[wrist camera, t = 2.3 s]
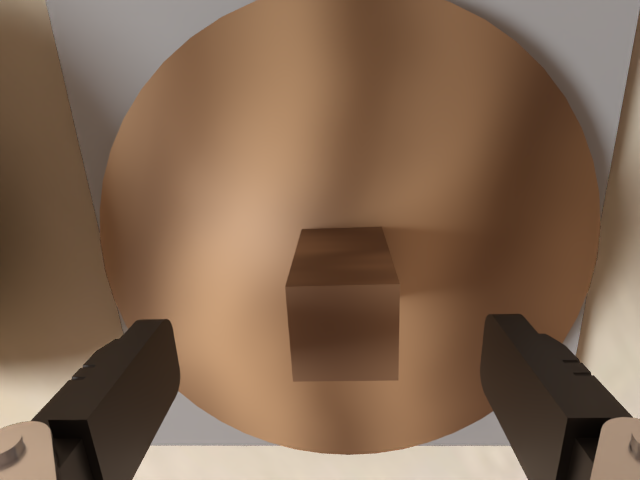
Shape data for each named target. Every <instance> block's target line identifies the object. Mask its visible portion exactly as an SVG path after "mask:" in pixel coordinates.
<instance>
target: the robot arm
mask: <svg viewBox="0 0 640 480" xmlns="http://www.w3.org/2000/svg"><path fill="white" fill-rule="evenodd" d="M480 379H481V384H482V388H483V391H484V394H485V396H486V398H487V400H488V402H489V404H490V406H491V408H492V410H493V412H494V414H495V415H496V417H497V419H498V421H499V423H500V425H501V427H502V429H503V431H504V433H505V435H506V437H507V439H508V441H509V443H510V445H511V447H512V449H513V451H514V453H515V455H516V457H517V459H518V461H519V463H520V465H521V467H522V469H523V470H524V472H525V474H526V476H527V478H528V480H640V419H638V418H633V417H632V416H631V415H630V414H629V413H628V412H627V410H626V409H625V408H624V407H623V406H622V405H621V404H620V403H619V402H618V401H617V400H616V399H615V398H614V397H613V396H612V394H611V393H610V392H609V391H608V390H607V389H606V388H605V387H604V386H603V385H602V384H601V383H600V382H599V381H598V379H597V378H596V377H595V376H591V372H590V371H589V370H588V369H587V368H586V367H585V366H584V365H583V363H580V362H579V359H578V358H577V357H576V356H575V355H574V354H573V353H572V352H571V351H570V350H569V349H568V347H567V346H566V345H564V344H562V343H561V342H559V341H557V340H556V339H554V338H552V337H551V336H549V335H547V334H539V333H538V332H537V331H536V330H535V329H534V328H533V327H532V325H531V324H530V323H529V322H528V321H527V320H526V318H525V317H524V316H523V315H521V314H489V315H487V317H486V319H485V324H484V333H483V343H482V353H481V362H480ZM179 385H180V367H179V361H178V355H177V349H176V344H175V338H174V332H173V327H172V324H171V322H170V321H169V320H168V319H139V320H136V321H135V322H134V323H133V324H132V326H131V327H130V328H129V329H128V330H127V331H126V332H125V333H124V335H123V336H122V337H121V338H120V339H115V340H113V341H112V342H110V343H109V344H107V345H105V346H104V347H102V348H101V349H99V350H97V351H96V352H95V353H94V354H93V355H92V356H91V357H90V358H89V359H88V360H87V362H86V363H85V364H84V365H83V368H80V369H79V370H78V371H77V372H76V373H75V374H74V375H73V376H72V380H69V381H68V382H67V383H66V384H65V385H64V386H63V387H62V388H61V389H60V390H59V391H58V392H57V393H56V395H55V396H54V397H53V398H52V399H51V400H50V401H49V402H48V403H47V404H46V405H45V406H44V407H43V408H42V409H41V411H40V412H39V413H38V414H37V415H36V416H35V417H34V418H33V419H32V420H31V421H26V422H20V423H16V424H12V425H9V426H6V427H3V428H1V429H0V480H132V479H133V477H134V475H135V473H136V471H137V469H138V467H139V466H140V464H141V462H142V460H143V458H144V456H145V454H146V452H147V450H148V449H149V447H150V445H151V443H152V441H153V439H154V437H155V435H156V433H157V432H158V430H159V428H160V426H161V424H162V422H163V420H164V418H165V416H166V415H167V413H168V411H169V409H170V407H171V405H172V403H173V401H174V399H175V398H176V395H177V393H178V390H179Z"/></svg>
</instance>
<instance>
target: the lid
mask: <svg viewBox="0 0 640 480" xmlns="http://www.w3.org/2000/svg"><path fill="white" fill-rule="evenodd" d="M600 227H601V226H600V197H599V189H598V183H597V178H596V173H595V167H594V162H593V159H592V156H591V153H590V150H589V147H588V144H587V141H586V138H585V136H584V133H583V130H582V127H581V126H580V124H579V122H578V120H577V118H576V116H575V114H574V112H573V110H572V109H571V107H570V105H569V103H568V101H567V99H566V97H565V96H564V95H563V93H562V92H561V91H560V89H559V88H558V87H557V85H556V84H555V83H554V81H553V80H552V79H551V77H550V76H549V75H548V73H547V72H546V71H545V69H544V68H543V67H542V66H541V65H540V64H539V63H538V62H537V61H536V60H535V59H534V58H533V57H532V56H531V55H530V54H529V53H528V52H527V51H526V50H525V49H524V48H523V47H521V46H520V45H519V44H518V43H517V42H516V41H515V40H513V39H512V38H511V37H509V36H508V35H506V34H505V33H504V32H502V31H501V30H499V29H498V28H496V27H495V26H494V25H492V24H491V23H489V22H488V21H487V20H485V19H483V18H481V17H479V16H477V15H475V14H473V13H471V12H469V11H467V10H465V9H463V8H461V7H459V6H457V5H455V4H453V3H451V2H448V1H445V0H256V1H254V2H252V3H250V4H248V5H246V6H244V7H241V8H239V9H237V10H235V11H233V12H231V13H229V14H227V15H224V16H222V17H221V18H219V19H218V20H216V21H215V22H213V23H212V24H210V25H209V26H207V27H206V28H204V29H203V30H201V31H200V32H198V33H197V34H195V35H194V36H192V37H191V38H190V39H188V40H187V41H186V42H185V43H184V44H183V45H182V46H181V47H180V48H179V49H177V50H176V51H175V52H174V53H173V54H172V55H171V56H170V57H169V58H167V59H166V60H165V61H164V62H163V63H162V65H161V66H160V67H159V68H158V69H157V71H156V72H155V73H154V74H153V76H152V77H151V78H150V79H149V80H148V82H147V83H146V84H145V85H144V87H143V88H142V89H141V90H140V92H139V94H138V96H137V97H136V99H135V101H134V102H133V104H132V106H131V107H130V109H129V111H128V112H127V114H126V116H125V117H124V119H123V121H122V124H121V126H120V129H119V131H118V133H117V136H116V138H115V141H114V143H113V145H112V148H111V151H110V155H109V159H108V163H107V167H106V170H105V174H104V178H103V184H102V194H101V203H100V241H101V248H102V254H103V260H104V266H105V271H106V275H107V278H108V281H109V284H110V288H111V291H112V294H113V298H114V300H115V302H116V305H117V307H118V309H119V311H120V313H121V316H122V318H123V320H124V322H125V325H126V326H127V328H128V329H129V328H130V327H131V326H132V324H133V323H134V322H135V321H136V320H139V319H168V320H169V321H170V322H171V324H172V327H173V332H174V338H175V344H176V349H177V355H178V361H179V367H180V385H179V390H178V391H179V392H180V393H181V394H182V395H184V396H185V397H186V398H187V399H189V400H190V401H191V402H192V403H194V404H195V405H196V406H197V407H199V408H200V409H202V410H204V411H205V412H207V413H208V414H210V415H211V416H213V417H215V418H216V419H218V420H219V421H221V422H223V423H225V424H227V425H229V426H231V427H233V428H235V429H237V430H239V431H241V432H243V433H245V434H248V435H251V436H253V437H256V438H259V439H262V440H264V441H267V442H270V443H273V444H277V445H281V446H285V447H289V448H293V449H297V450H304V451H310V452H317V453H327V454H346V455H351V454H371V453H381V452H387V451H394V450H400V449H405V448H409V447H413V446H417V445H420V444H424V443H428V442H431V441H434V440H436V439H439V438H442V437H444V436H447V435H450V434H452V433H455V432H457V431H459V430H461V429H463V428H465V427H467V426H469V425H471V424H473V423H475V422H477V421H479V420H481V419H482V418H484V417H485V416H487V415H488V414H490V413H491V412H493V410H492V408H491V406H490V404H489V402H488V400H487V398H486V396H485V394H484V391H483V388H482V384H481V379H480V362H481V353H482V343H483V333H484V324H485V319H486V317H487V315H489V314H521V315H523V316H524V317H525V318H526V320H527V321H528V322H529V323H530V324H531V325H532V327H533V328H534V329H535V330H536V331H537V332H538V333H539V334H547V335H549V336H551V337H552V338H554V339H556V340H557V341H559V342H561V343H563V341H564V340H565V338H566V336H567V334H568V333H569V331H570V329H571V327H572V326H573V324H574V322H575V320H576V319H577V317H578V315H579V312H580V310H581V307H582V305H583V302H584V300H585V297H586V295H587V292H588V290H589V287H590V283H591V279H592V276H593V272H594V268H595V264H596V260H597V254H598V245H599V236H600Z"/></svg>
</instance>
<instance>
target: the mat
mask: <svg viewBox="0 0 640 480" xmlns="http://www.w3.org/2000/svg"><path fill="white" fill-rule="evenodd" d="M45 1H46V5H47V9H48V14H49V18H50V22H51V26H52V31H53V35H54V39H55V44H56V48H57V52H58V56H59V61H60V65H61V69H62V73H63V78H64V82H65V86H66V91H67V95H68V99H69V103H70V108H71V112H72V116H73V120H74V125H75V129H76V133H77V138H78V142H79V146H80V150H81V155H82V159H83V163H84V167H85V172H86V176H87V180H88V184H89V189H90V193H91V197H92V202H93V206H94V210H95V214H96V219H97V223H98V227H99V231H100V203H101V194H102V184H103V178H104V174H105V170H106V167H107V163H108V159H109V155H110V151H111V148H112V145H113V143H114V141H115V138H116V136H117V133H118V131H119V129H120V126H121V124H122V121H123V119H124V117H125V116H126V114H127V112H128V111H129V109H130V107H131V106H132V104H133V102H134V101H135V99H136V97H137V96H138V94H139V92H140V90H141V89H142V88H143V87H144V85H145V84H146V83H147V82H148V80H149V79H150V78H151V77H152V76H153V74H154V73H155V72H156V71H157V69H158V68H159V67H160V66H161V65H162V63H163V62H164V61H165V60H166V59H167V58H169V57H170V56H171V55H172V54H173V53H174V52H175V51H176V50H177V49H179V48H180V47H181V46H182V45H183V44H184V43H185V42H186V41H187V40H188V39H190V38H191V37H192V36H194V35H195V34H197V33H198V32H200V31H201V30H203V29H204V28H206V27H207V26H209V25H210V24H212V23H213V22H215V21H216V20H218V19H219V18H221V17H222V16H224V15H227V14H229V13H231V12H233V11H235V10H237V9H239V8H241V7H244V6H246V5H248V4H250V3H252V2H254V1H256V0H45ZM445 1H448V2H451V3H453V4H455V5H457V6H459V7H461V8H463V9H465V10H467V11H469V12H471V13H473V14H475V15H477V16H479V17H481V18H483V19H485V20H487V21H488V22H489V23H491V24H492V25H494V26H495V27H496V28H498V29H499V30H501V31H502V32H504V33H505V34H506V35H508V36H509V37H511V38H512V39H513V40H515V41H516V42H517V43H518V44H519V45H520V46H521V47H523V48H524V49H525V50H526V51H527V52H528V53H529V54H530V55H531V56H532V57H533V58H534V59H535V60H536V61H537V62H538V63H539V64H540V65H541V66H542V67H543V68H544V69H545V71H546V72H547V73H548V75H549V76H550V77H551V79H552V80H553V81H554V83H555V84H556V85H557V87H558V88H559V89H560V91H561V92H562V93H563V95H564V96H565V97H566V99H567V101H568V103H569V105H570V107H571V109H572V110H573V112H574V114H575V116H576V118H577V120H578V122H579V124H580V126H581V127H582V130H583V133H584V136H585V138H586V141H587V144H588V147H589V150H590V153H591V156H592V159H593V162H594V167H595V173H596V178H597V183H598V189H599V197H600V222H601V216H602V211H603V206H604V200H605V195H606V189H607V184H608V178H609V173H610V168H611V162H612V157H613V151H614V146H615V141H616V135H617V130H618V124H619V119H620V113H621V108H622V103H623V97H624V92H625V86H626V81H627V76H628V70H629V65H630V59H631V54H632V48H633V43H634V38H635V32H636V27H637V21H638V16H639V11H640V0H445ZM586 298H587V295H586V297H585V300H584V302H583V305H582V307H581V310H580V312H579V315H578V317H577V319H576V320H575V322H574V324H573V326H572V327H571V329H570V331H569V333H568V334H567V336H566V338H565V340H564V341H563V343H562V344H564V345H566V346H567V347H568V349H569V350H570V351H571V352H572V353H573V354H574V355H575V356H576V352H577V346H578V341H579V336H580V330H581V325H582V319H583V314H584V308H585V303H586ZM117 308H118V307H117ZM118 313H119V317H120V321H121V325H122V330H123V334H124V333H125V332H126V331H127V330H128V328H127V326H126V325H125V322H124V320H123V318H122V316H121V313H120V311H119V309H118ZM151 445H223V446H281V445H277V444H273V443H270V442H267V441H264V440H262V439H259V438H256V437H253V436H251V435H248V434H245V433H243V432H241V431H239V430H237V429H235V428H233V427H231V426H229V425H227V424H225V423H223V422H221V421H219V420H218V419H216V418H215V417H213V416H211V415H210V414H208V413H207V412H205V411H204V410H202V409H200V408H199V407H197V406H196V405H195V404H194V403H192V402H191V401H190V400H189V399H187V398H186V397H185V396H184V395H182V394H181V393H180V392H179V391H178V393H177V395H176V398H175V399H174V401H173V403H172V405H171V407H170V409H169V411H168V413H167V415H166V416H165V418H164V420H163V422H162V424H161V426H160V428H159V430H158V432H157V433H156V435H155V437H154V439H153V441H152V443H151ZM417 446H511V445H510V443H509V441H508V439H507V437H506V435H505V433H504V431H503V429H502V427H501V425H500V423H499V421H498V419H497V417H496V415H495V414H494V412H491V413H490V414H488V415H487V416H485V417H484V418H482V419H481V420H479V421H477V422H475V423H473V424H471V425H469V426H467V427H465V428H463V429H461V430H459V431H457V432H455V433H452V434H450V435H447V436H444V437H442V438H439V439H436V440H434V441H431V442H428V443H424V444H420V445H417Z"/></svg>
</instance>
